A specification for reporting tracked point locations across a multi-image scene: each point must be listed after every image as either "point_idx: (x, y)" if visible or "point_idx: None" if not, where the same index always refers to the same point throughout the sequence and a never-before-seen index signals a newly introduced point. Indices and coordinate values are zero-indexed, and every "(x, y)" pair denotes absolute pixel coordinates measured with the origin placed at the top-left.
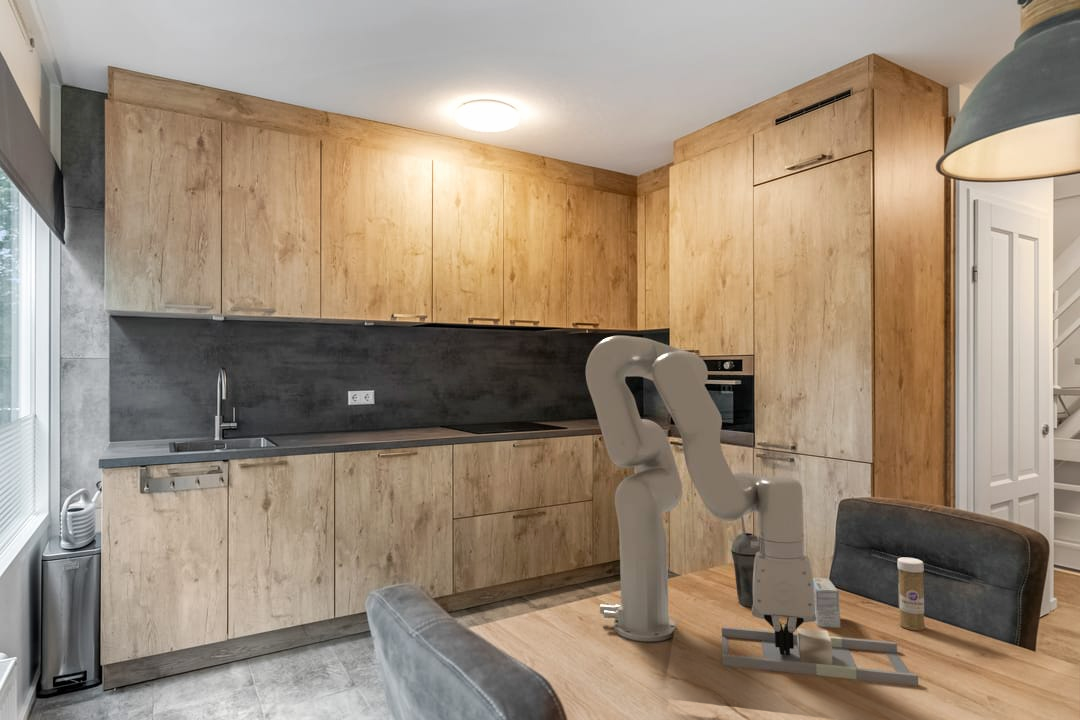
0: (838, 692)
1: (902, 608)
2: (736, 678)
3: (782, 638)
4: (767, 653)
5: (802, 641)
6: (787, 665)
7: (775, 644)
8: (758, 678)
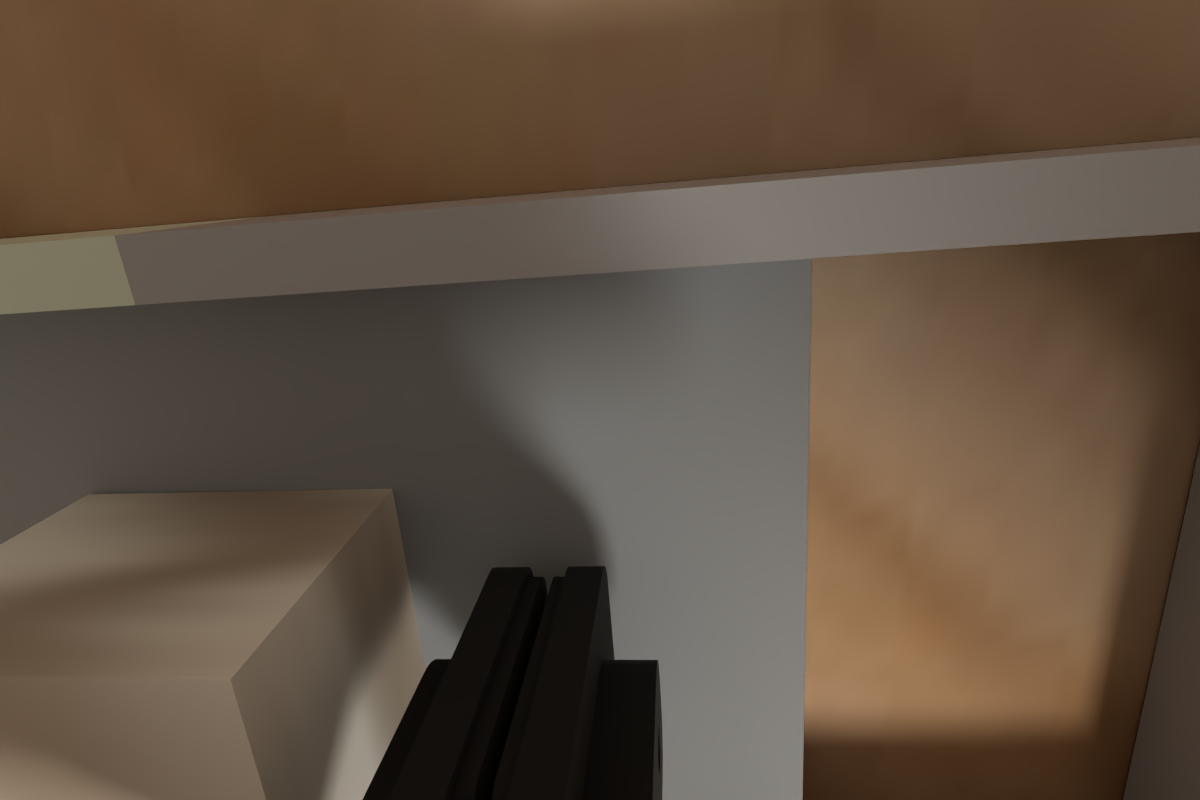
0: (53, 91)
1: None
2: (1177, 43)
3: (538, 716)
4: (752, 622)
5: (214, 654)
6: (508, 201)
7: (658, 692)
8: (880, 144)
